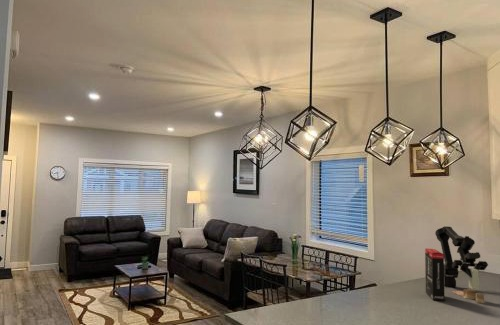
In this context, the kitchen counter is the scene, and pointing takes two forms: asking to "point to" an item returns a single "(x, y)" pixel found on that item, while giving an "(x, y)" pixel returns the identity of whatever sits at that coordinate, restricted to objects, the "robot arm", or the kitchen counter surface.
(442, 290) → the graphics card box
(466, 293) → the rack
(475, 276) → the pale green block
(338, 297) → the kitchen counter surface
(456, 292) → the tile
